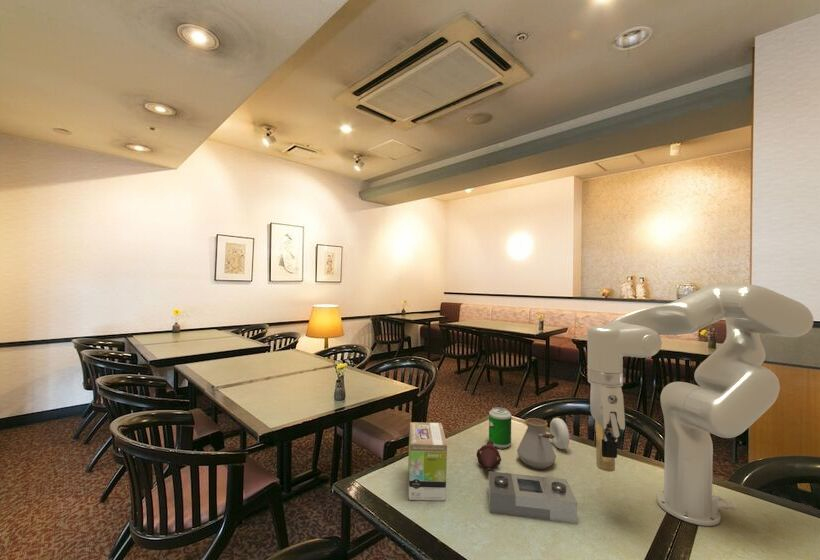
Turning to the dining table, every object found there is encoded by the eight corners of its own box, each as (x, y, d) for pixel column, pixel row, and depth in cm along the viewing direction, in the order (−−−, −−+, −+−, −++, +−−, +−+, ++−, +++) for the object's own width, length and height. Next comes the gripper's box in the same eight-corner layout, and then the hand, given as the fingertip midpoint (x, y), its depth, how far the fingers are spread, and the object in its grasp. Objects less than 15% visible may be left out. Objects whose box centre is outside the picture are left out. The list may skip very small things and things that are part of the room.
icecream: (504, 460, 101) (503, 441, 115) (478, 450, 103) (480, 433, 117) (497, 483, 101) (497, 462, 115) (472, 473, 102) (475, 453, 117)
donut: (547, 441, 127) (548, 413, 127) (557, 441, 128) (557, 413, 128) (561, 455, 117) (561, 424, 117) (571, 454, 118) (571, 424, 118)
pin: (611, 463, 88) (610, 415, 88) (617, 472, 84) (617, 421, 84) (594, 462, 89) (593, 414, 89) (599, 470, 85) (599, 420, 85)
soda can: (513, 443, 125) (514, 409, 125) (507, 452, 119) (507, 416, 119) (492, 438, 129) (493, 405, 129) (485, 446, 123) (486, 411, 123)
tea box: (447, 501, 92) (447, 444, 92) (408, 501, 92) (408, 443, 92) (441, 470, 107) (442, 421, 107) (408, 470, 107) (408, 420, 107)
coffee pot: (513, 453, 118) (513, 407, 118) (548, 454, 118) (549, 409, 118) (531, 490, 97) (532, 435, 97) (574, 492, 96) (575, 437, 96)
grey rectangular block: (566, 498, 94) (566, 476, 94) (576, 523, 84) (577, 499, 84) (488, 489, 97) (488, 468, 97) (490, 512, 87) (490, 489, 87)
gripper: (637, 388, 78) (638, 471, 78) (608, 369, 94) (609, 438, 94) (600, 386, 79) (601, 468, 79) (578, 368, 96) (579, 436, 96)
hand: (605, 451), depth 87 cm, fingers closed on pin, 4 cm apart
